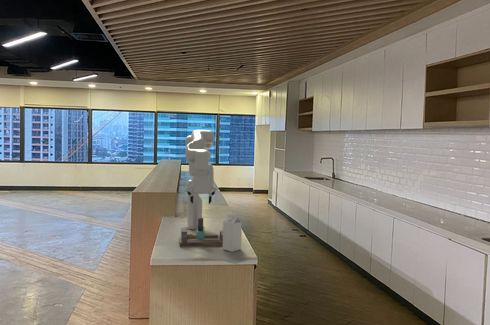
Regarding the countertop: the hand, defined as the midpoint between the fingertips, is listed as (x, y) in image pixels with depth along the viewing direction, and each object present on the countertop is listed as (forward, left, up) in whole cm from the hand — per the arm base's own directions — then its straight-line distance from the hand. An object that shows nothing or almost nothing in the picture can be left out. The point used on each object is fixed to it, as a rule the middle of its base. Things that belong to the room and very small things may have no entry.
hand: (200, 203), depth 247 cm
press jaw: (0, 0, -20) cm, 20 cm away
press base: (0, +1, -23) cm, 23 cm away
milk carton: (+14, +16, -23) cm, 31 cm away
